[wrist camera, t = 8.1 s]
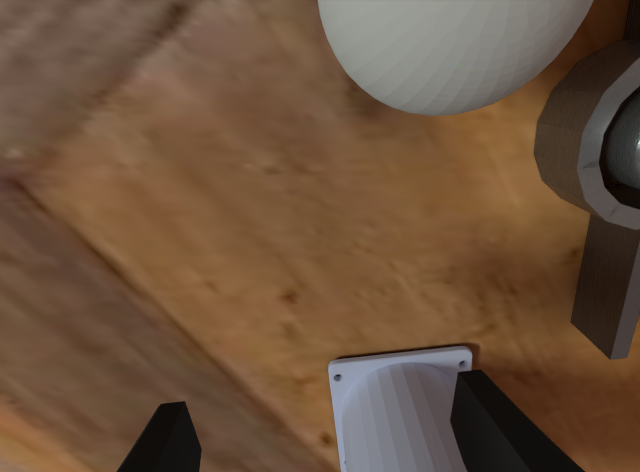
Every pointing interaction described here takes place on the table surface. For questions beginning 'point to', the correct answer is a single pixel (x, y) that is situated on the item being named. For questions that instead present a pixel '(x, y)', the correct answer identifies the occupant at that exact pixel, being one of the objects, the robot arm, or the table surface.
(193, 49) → the table surface
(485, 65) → the light bulb
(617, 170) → the hinge pin
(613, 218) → the hinge
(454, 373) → the robot arm
